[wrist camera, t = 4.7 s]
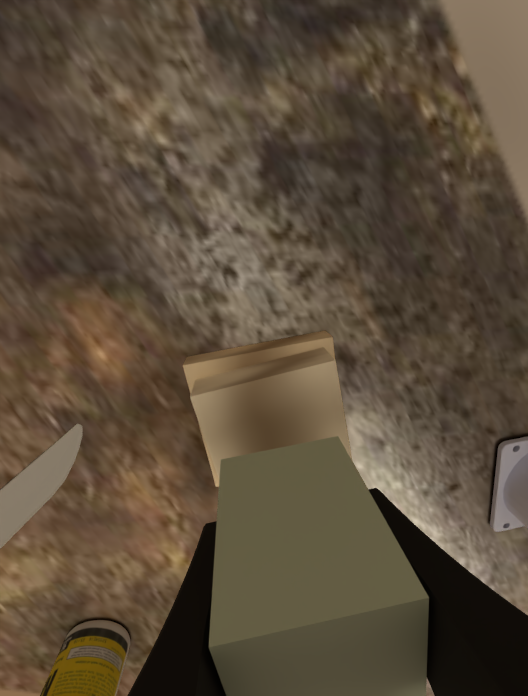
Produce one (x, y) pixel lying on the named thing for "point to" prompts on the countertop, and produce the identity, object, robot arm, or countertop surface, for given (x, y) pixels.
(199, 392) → the tan square tile
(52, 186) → the countertop surface
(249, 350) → the tower base
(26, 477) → the chef's knife
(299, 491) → the green block
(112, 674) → the supplement bottle
